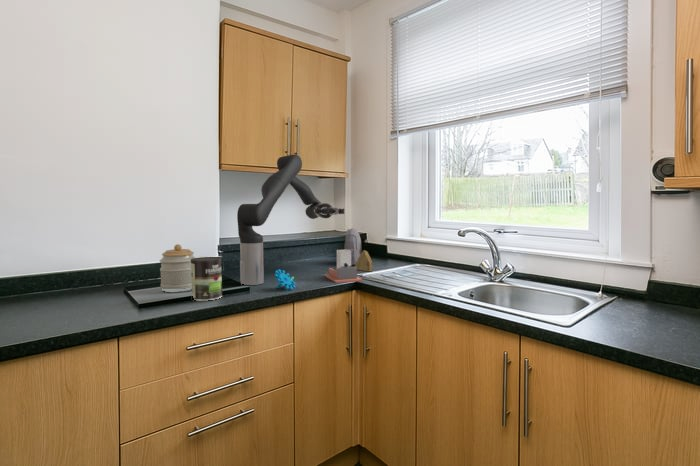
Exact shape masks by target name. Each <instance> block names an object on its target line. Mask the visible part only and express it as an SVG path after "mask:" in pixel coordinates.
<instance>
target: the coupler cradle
mask: <svg viewBox="0 0 700 466" xmlns="http://www.w3.org/2000/svg"><path fill="white" fill-rule="evenodd" d="M324 277H326V278H327V279H328V280H330V281H332V282H333V283H335V284H341V283H351V282H352V283H355V282H363V278H361V277H359V276H358V270H357V267H355V266H351V267H346V268H338V271H337V269H334V268H333V267H329V268H328V273H325V274H324Z"/></svg>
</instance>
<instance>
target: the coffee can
mask: <svg viewBox="0 0 700 466" xmlns="http://www.w3.org/2000/svg"><path fill="white" fill-rule="evenodd" d="M222 259H223V258H222V257H220V256H201V257H199V256H198V257H195V258H193V259H191V277H192V290H191V297H192V296H193V298H194V300H196V301H195V302H209V301H208V300H213V301H216V300H215V299H217V300H220V299H222V298H223V282H222V281H223V279H222V278H223V276H222ZM221 297H222V298H221ZM219 298H220V299H219ZM194 300H193V301H194Z"/></svg>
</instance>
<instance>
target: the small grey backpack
mask: <svg viewBox="0 0 700 466" xmlns="http://www.w3.org/2000/svg"><path fill="white" fill-rule="evenodd" d="M343 250H350V251H351V266H355V264H356V262H357V260H358V258H359V256H360V255H361V253H362V252H363V250H362V239H361V236H360V233H359V232H358V230H357V229H356V228H353V227H352V228H349V229H347V230H346V231H345V239H344V249H343Z"/></svg>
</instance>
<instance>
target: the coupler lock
mask: <svg viewBox="0 0 700 466" xmlns="http://www.w3.org/2000/svg"><path fill="white" fill-rule="evenodd" d="M346 267H352V265H351V251H350V250H344V249H336V271H338V268H346Z"/></svg>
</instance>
